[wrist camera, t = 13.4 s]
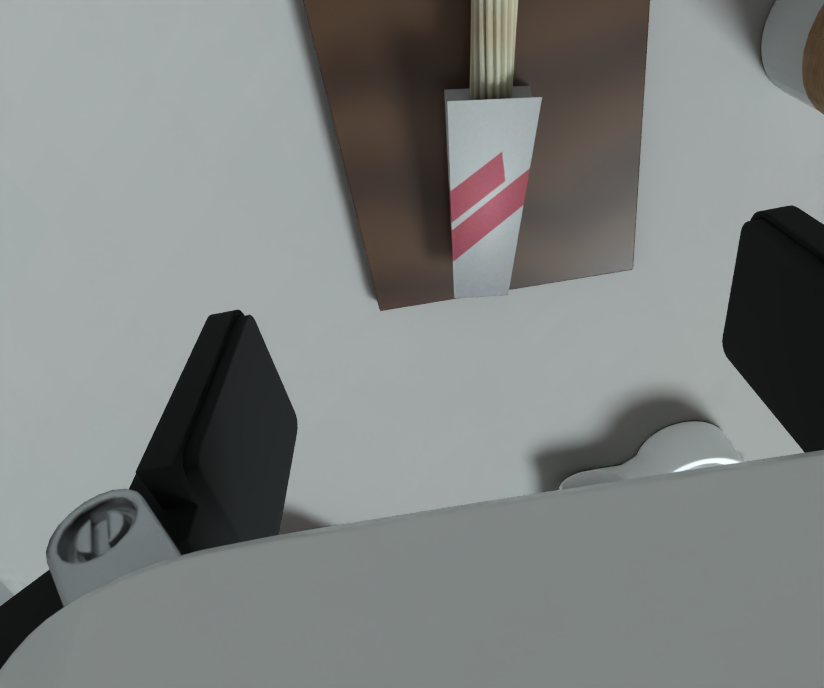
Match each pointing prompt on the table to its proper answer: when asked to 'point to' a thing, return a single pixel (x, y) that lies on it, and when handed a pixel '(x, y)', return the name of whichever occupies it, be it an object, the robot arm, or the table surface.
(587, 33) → the board
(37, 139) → the table surface
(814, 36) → the coffee cup
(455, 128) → the white and tan bar
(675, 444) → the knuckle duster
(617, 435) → the table surface
